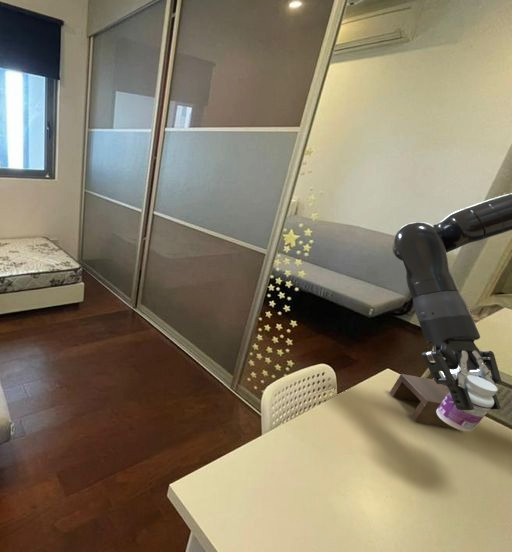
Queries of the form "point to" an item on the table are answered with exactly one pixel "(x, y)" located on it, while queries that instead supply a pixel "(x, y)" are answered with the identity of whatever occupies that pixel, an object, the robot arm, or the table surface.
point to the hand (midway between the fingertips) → (479, 409)
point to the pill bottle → (480, 399)
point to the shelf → (422, 398)
